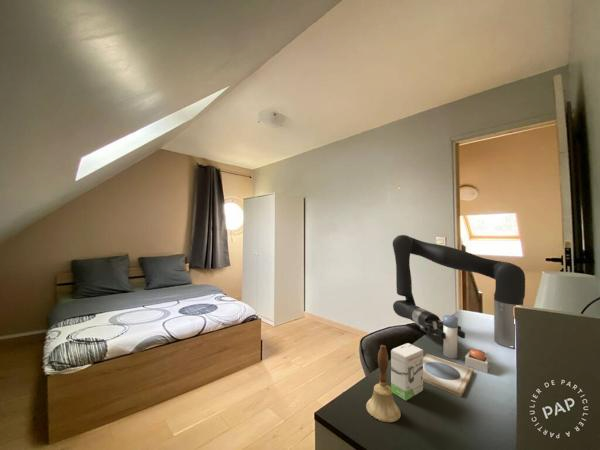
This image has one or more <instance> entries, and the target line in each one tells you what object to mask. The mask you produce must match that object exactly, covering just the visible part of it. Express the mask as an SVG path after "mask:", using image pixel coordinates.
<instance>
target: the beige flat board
mask: <svg viewBox="0 0 600 450" xmlns="http://www.w3.org/2000/svg"><path fill="white" fill-rule="evenodd" d="M473 374H474V368H471V367H468V366H465V365H461V364H459V363H455V362H453V361H449V360H447V359H444V358H442V357H438V356H436V355H432V354H429V353H426V354H425V355H423V383H427V384H428V385H431V386H434V387H435V388H438V389H441V390H443V391H445V392H448V393H451V394H452V395H455V396H457V397H460V398H462V396H463V395H464V392H465V390H466V389H467V386H468V384H469V383H470V381H471V378H472V376H473Z"/></svg>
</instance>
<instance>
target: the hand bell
mask: <svg viewBox="0 0 600 450" xmlns="http://www.w3.org/2000/svg"><path fill="white" fill-rule="evenodd" d="M379 347H380V348H379V350H378V353H377V363H378V367H379V368H378V369H379V382H378V383H376V384H375V385H373V392H372V396H371V397H370V398H369V399H368V400H367V402H366V404H365V408H366V411H367V412H368V413H369V415H370V416H371V417H372V416H373V418H374V419H375V420H377V419H378V421H379V422H383V423H394V422H396V421H399V419H400V418H401V416H402V415H401V413H402V412H401V409H400V407H399V406H398V405H397V403H396V402H395V399H394V396H393V394H394V393H393V392H392V389H391V386H390V385H387V370H388V367H389V353H388V350H387V346H386V345H384V344H381V345H380V346H379Z"/></svg>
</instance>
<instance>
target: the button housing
mask: <svg viewBox="0 0 600 450" xmlns="http://www.w3.org/2000/svg"><path fill="white" fill-rule="evenodd" d="M464 359H465V361H464V363H465V364H464V366H465V367H468V368H471V369H473V370H477V371H479V372H483V373H485V374H488V372H489V371H490V367H491V356H487V355H485V360H477V359H474V358H472V357H471V355H470V350H468V352H467V354H465V357H464Z"/></svg>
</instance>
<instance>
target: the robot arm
mask: <svg viewBox="0 0 600 450" xmlns="http://www.w3.org/2000/svg"><path fill="white" fill-rule="evenodd" d="M392 249H393V254H394V258H395V259H394V261H395V266H396V270H395V272H396V273H395V274H396V275H395V278H396V281H395V282H396V283H395V284H396V294H397V295H398V296H401V297H404V298H405V299H401V300H395V302H393V304H392V309H393V311H394V313H395V314H396V315H397V316H399V317H401V318H405V319H407V320H410V321H412V322H413V323H414V324H416V325H417V326H418V327H419V329H420V330H421V331H422V332H424V333H426V334H428V335H433V336H438V337H439V338H440V339H442V340H443V339H446V334H445V333H444V332H443V320H441V319H440V317H439V316H438V315H437V314H435V313H432V312H431V311H429V310H427V309H425V308H421V307H420V306H417V304H416V302H415V298H414V294H413V286H412V285H413V282H412V281H413V280H412V275H411V268H410V267H411V266H410V262H411V261H410V260H411V259H410V258H411V257H410V256H411V255H413V256H418V257H422V258H424V259H426V260H428V261H431V262H432V263H435V264H438V265H440V266H443V267H447V268H450V269H453V270H456V271H457V270H458V271H463V272H470V273H476V274H479V275H483V276H485V277H488V278H490V279H493V280H495V289H494V293H493V301H494V302H493V312H494V313H493V318H494V319H493V324H494V325H493V326H494V327H493V331H494V333H493V335H494V336H493V340H494V341H493V342H496V343H497V344H499V345H501V346H503V347H505V348H506V347H507V348H510V347H509V346H513V348H512V349H516V348H515V324H514V316H513V307H514V306H516V305H521V306H523V307H524V300H525V297H526V274H525V271H524V270H523V269H522V268H521V267H520V266H519V265H516V264H514V263H512V262H508V261H502V260H494V259H491V258H490V259H489V258H485V257H481V256H478V255H476V254H474V253H471V252H469V251H468V252H467V251H464V250H461V249H459V248H455V247H451V246H447V245H442V244H437V243H431V242H426V241H422V240H419V239H416V238H414V237H411V236H409V235H406V234H401V235H397V236H396V237H394V238H393V240H392ZM457 337H459V338H461V339H465V338H466V333H465V331H462V326H461V325H458V327H457Z"/></svg>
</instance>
